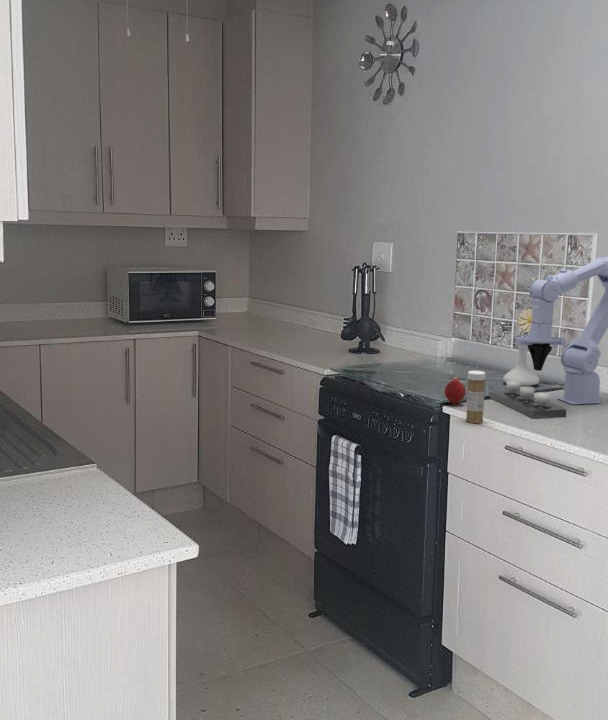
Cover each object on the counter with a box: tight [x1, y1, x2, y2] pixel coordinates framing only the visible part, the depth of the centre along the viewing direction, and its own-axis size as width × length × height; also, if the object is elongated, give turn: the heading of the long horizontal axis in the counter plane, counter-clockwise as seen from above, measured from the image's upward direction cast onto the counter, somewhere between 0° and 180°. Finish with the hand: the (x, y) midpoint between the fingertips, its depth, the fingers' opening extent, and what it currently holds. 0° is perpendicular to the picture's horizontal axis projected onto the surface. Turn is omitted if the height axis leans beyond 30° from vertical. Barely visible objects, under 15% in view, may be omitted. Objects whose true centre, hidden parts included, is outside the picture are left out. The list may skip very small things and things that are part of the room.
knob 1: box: [505, 381, 521, 394], centre depth 244 cm, size 4×4×3 cm
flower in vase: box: [502, 308, 541, 387], centre depth 264 cm, size 13×11×25 cm
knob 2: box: [534, 391, 551, 407], centre depth 229 cm, size 4×4×3 cm
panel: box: [489, 390, 567, 419], centre depth 237 cm, size 10×25×2 cm, turn 15°
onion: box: [444, 376, 466, 405], centre depth 239 cm, size 6×6×8 cm
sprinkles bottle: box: [465, 370, 486, 424], centre depth 219 cm, size 5×5×13 cm
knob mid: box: [520, 386, 536, 400], centre depth 237 cm, size 4×4×3 cm
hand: (537, 370), depth 237 cm, fingers closed
